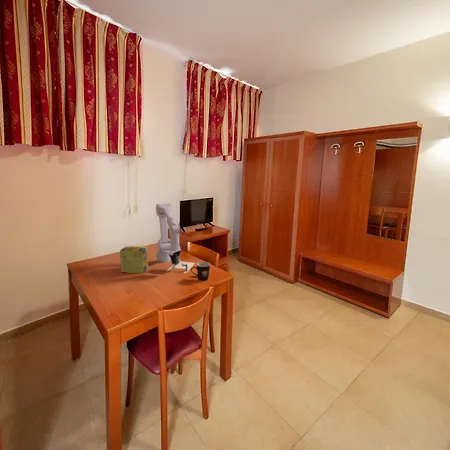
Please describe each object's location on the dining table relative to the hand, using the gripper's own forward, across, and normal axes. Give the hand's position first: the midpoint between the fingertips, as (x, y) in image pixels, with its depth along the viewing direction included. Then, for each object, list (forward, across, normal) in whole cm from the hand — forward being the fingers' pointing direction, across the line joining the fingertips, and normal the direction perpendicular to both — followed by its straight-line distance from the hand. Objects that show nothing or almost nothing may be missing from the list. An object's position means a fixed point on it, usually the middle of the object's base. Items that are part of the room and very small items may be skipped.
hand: (175, 262), depth 172 cm
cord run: (+5, +9, +3) cm, 11 cm away
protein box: (+7, -4, +28) cm, 29 cm away
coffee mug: (+7, -6, -20) cm, 22 cm away
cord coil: (+1, 0, 0) cm, 1 cm away
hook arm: (+6, 0, -7) cm, 9 cm away
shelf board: (+7, +6, -2) cm, 10 cm away
